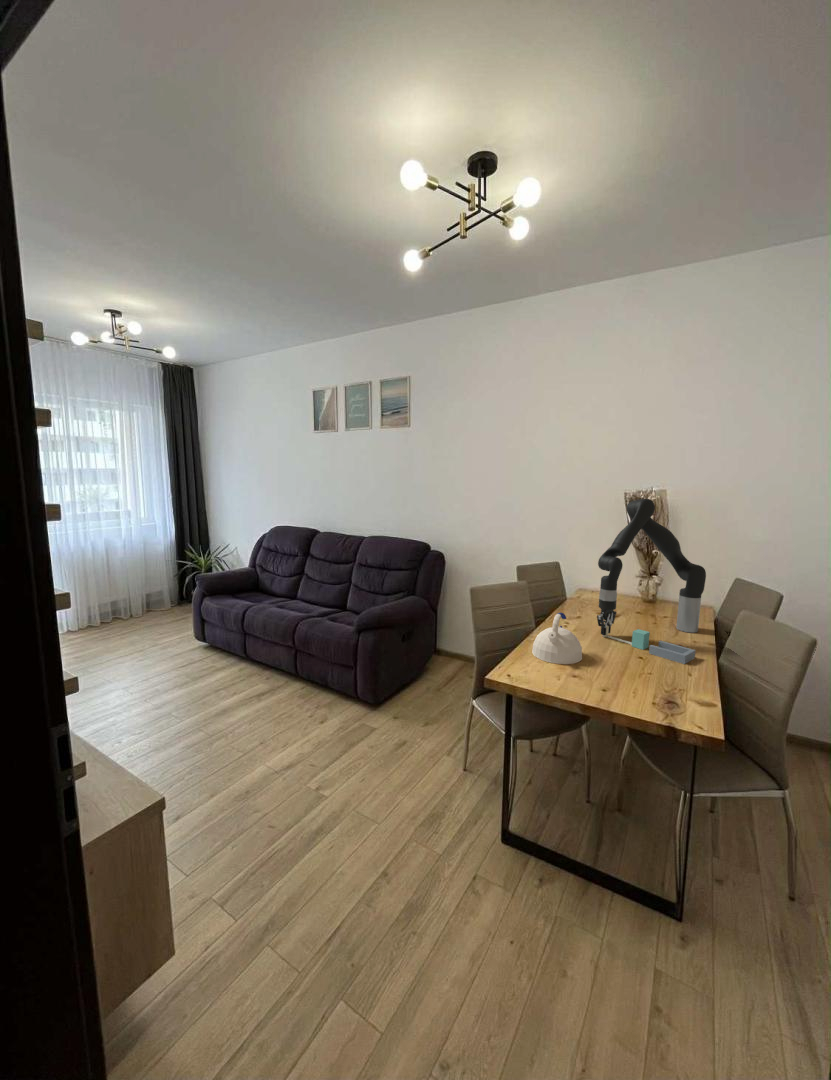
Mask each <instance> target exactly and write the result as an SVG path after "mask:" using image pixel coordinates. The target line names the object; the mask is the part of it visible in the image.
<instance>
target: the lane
mask: <svg viewBox="0 0 831 1080" xmlns="http://www.w3.org/2000/svg"><path fill="white" fill-rule="evenodd" d="M657 645H658V646H657ZM657 645H653V644H649V647H648V650H649V651H648V654H649V655H653V656H656V657H659V658H662V659H667V660H670V661H672V662H676V663H680V664H683V665H686V664H687V663H689V662H691V661H693V660H695V659H696V649H693V648H688V647H685V646H681V645H679V644H674V643H670V642H668V641H663V640H659V641H658V644H657Z"/></svg>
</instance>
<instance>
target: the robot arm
mask: <svg viewBox="0 0 831 1080" xmlns="http://www.w3.org/2000/svg"><path fill="white" fill-rule="evenodd" d="M655 511H656V506H655V502H654V501H653V500H652V499H649V498H641V499H635V500H631V501H629V502H628V503H627V504H626V513H627V515H628V516H629V518H630V519H631V521H629V522H628V524H627V525H626V526H625V527H624V528H623V529H621V530H620V532H618V534H617V535H616V537H615V538H614V540H613V541H612V543H611V546H610V547H608V548H607V549H606V550H605V552H603V553H602V555H600V557H599V558H598V562H597V565H598V568H599V569H600V570H601V571H602V570H603V571H607V572H609V573H608V575H604V576H601V578H600V587H599V588H600V590H599V593H598V594H599V597H598V608H599V609H600V614H599V615H598V614H597V615H596V619H597V625H598V627H600V635H601V636H602V635H606V626H609V632H608V634H611V629H612V626H613V625H614V624H615V619H616V616H617V611H615V610H616V609H617V601H618V600H617V598H618V591H617V589H618V581H619V577H620V575H621V573H622V570H623V561H622V559H621V558H619V557H622V556H624V555H625V554H626V553H627V551H628V550H629V548H630V546H631V544H632V542H633V540H634V539H635V538H636V536H637V535H638V534H639V532H640V531H641V530H643V532H644V533H645V534H646V536H647V537H648V538H649V539H650V540H651V542H652V543H653V544H654V546H655V547H656V548H657V549H658V551H660V553H661V554H662V555H663V556H664V557H665V559H666V560H667V561H668V562H669V563H670V565H671V566H672V567H673V570H674V571H675V573H676V574H677V576H678V577H679V578H680V579H681V580H683V581H685V587H683V588H680V589H679V592H678V593H679V594H678V605H677V606H678V608H677V617H676V618H677V619H676V625H675V626H676V629H677V630H678V631H681V632H685V633H692V634H693V633H698V632H699V623H700V613H701V606H702V605H701V604H702V603H701V602H702V594H703V593H704V591H705V585H706V579H707V573H706V572H707V571H706V568H704V567H703V566H702V565H699V564H695V563H692V562H691V561H690V560H688V558H687V557H686V556H685V555H684V553H682V549H681V544H680V542H679V540H678V538H677V537H675V535H674V533H672V531H671V530H670V529H669V528H667V527H665V526H663V525H662V524H660V523H658V522H657V521H655V520H654V519H653V518H652V516H653V515H654V514H655Z"/></svg>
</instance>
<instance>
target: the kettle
mask: <svg viewBox="0 0 831 1080" xmlns="http://www.w3.org/2000/svg"><path fill="white" fill-rule="evenodd" d="M566 619H567V616H566V613H563V612H558V613H556V614H555V615H554V618H553V621H552V627H547V628H546V629H543V630H542V631H540V632H539V633H538V634H537V636H536V637H535V639H534V641H533V644H532V651H531V652H532V655H533V656H534V657H535V658H537V659H538V660H541V661H543V662H547V663H550V664H556V665H572V664H577V663H579V662H580V661H582V660H583V647H582V646H581V642H580V640H579V639H578V637H577V636H576V635H575V634H574V633H573V632H572V631H570V630H569V629H566V628H564V627H563V625H560V626H559V624H560V620H566Z"/></svg>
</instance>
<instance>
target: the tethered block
mask: <svg viewBox="0 0 831 1080" xmlns="http://www.w3.org/2000/svg"><path fill="white" fill-rule="evenodd" d="M608 632H609V626H606V635H602V634H601V636H602V637H603V638H608V639H612V640H615V641H618V642H622V643H624V644H625V643H626V644H629V645H631V647H633V648H636V649H639V650H642V651H643V650H646V649H649V647H650V633H651V632H650V631H648V630H644V629H639V628H637V629H635V630H632V637H631V641H628V640H625V639H621V638H618V637H614V636H611V635H609V633H608Z"/></svg>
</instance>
